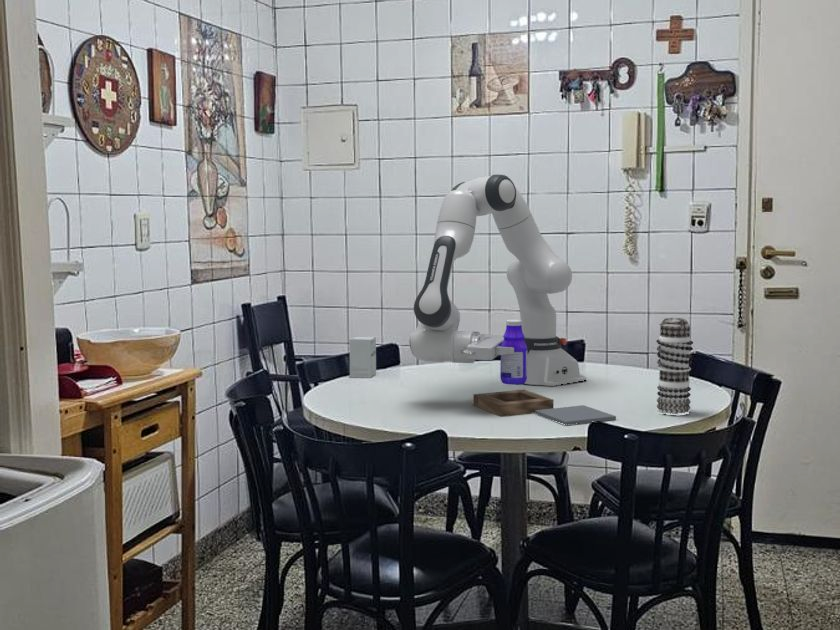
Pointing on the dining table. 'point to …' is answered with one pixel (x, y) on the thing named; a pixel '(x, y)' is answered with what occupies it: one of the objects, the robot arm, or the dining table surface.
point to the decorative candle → (674, 366)
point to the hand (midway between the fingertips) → (517, 348)
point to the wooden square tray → (512, 402)
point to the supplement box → (362, 357)
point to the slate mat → (575, 414)
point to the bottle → (514, 355)
